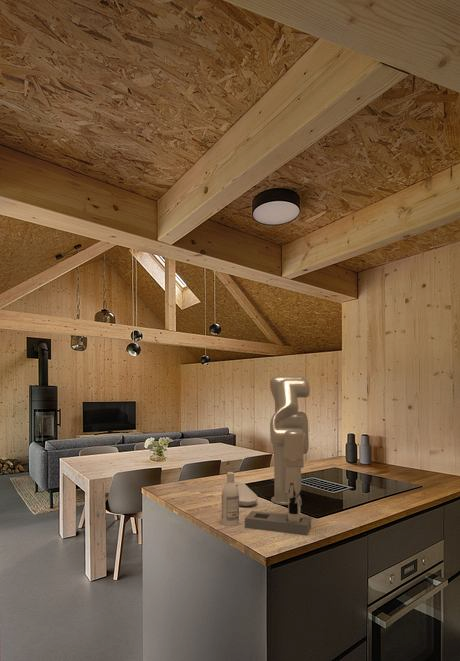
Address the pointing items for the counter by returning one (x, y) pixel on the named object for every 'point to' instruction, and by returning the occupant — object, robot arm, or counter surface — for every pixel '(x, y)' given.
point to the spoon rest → (246, 495)
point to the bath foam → (230, 502)
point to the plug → (295, 516)
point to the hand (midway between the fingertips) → (294, 511)
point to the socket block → (277, 523)
